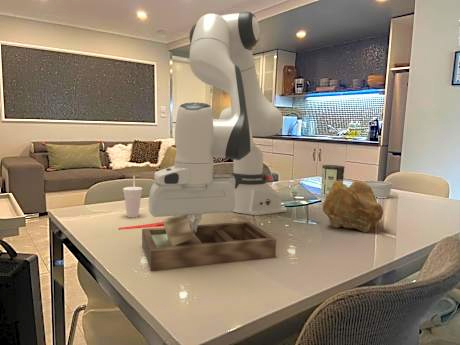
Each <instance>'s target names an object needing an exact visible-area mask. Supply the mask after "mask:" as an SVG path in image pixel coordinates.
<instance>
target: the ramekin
mask: <svg viewBox="0 0 460 345" xmlns="http://www.w3.org/2000/svg"><path fill="white" fill-rule="evenodd" d="M362 182H363V183H366V184H367V185H369V186H370V187H371V189H372V191H373V194H374V195H375V197H388V196H389V197H390V194H391V191H392V187H393V183H391V182H390V181H389V182H388V181H383V180H380V181H379V180H363V181H362ZM389 197H388V198H389Z"/></svg>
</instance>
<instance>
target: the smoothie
mask: <svg viewBox="0 0 460 345" xmlns="http://www.w3.org/2000/svg"><path fill="white" fill-rule="evenodd" d="M132 176H133V177H132V178H133V179H132V182H133V184H132V185H133V186H127V187H124V188H122V192H123V195H124V202H125V208H126V209H125V211H126V217H127V216H128V217H127V218H129V217H136V218H139V213H140V206H141V198H142V192H143V187H141V186H140V187H139V186H136V176H135V175H132Z"/></svg>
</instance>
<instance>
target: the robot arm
mask: <svg viewBox="0 0 460 345" xmlns="http://www.w3.org/2000/svg"><path fill="white" fill-rule="evenodd" d="M259 24H260V23H259V22H258V19H257V17H256V16H255V14H254V13H253V12H251V11H239V13H238V12H237V13H227V14H222V15H220V14H217V13H206V14H203V15H202V16H201V17H200V18H199V19H198V20H197V22H196V23H195V24H193V25H192V27H191V29H190V31H189V43H190V47H189V59H188V60H189V67H190V69H191V72H192V74H193V75H194V76H195V77H196V78H197V79H198V80H199V81H201V82H203V83H204V84H205V85H209V86H211V87H214V88H217V89H220V90H222V91H223V92H225V94H227V95H228V96H229V99H230V107H227V108H224V109H222V111H221V112H220V115H219V117H218V118H214V115H213V108H212V106H211V105H210V104H208V103H205V102H185V103H182V104H180V105H179V106H178V108H177V113H176V118H175V119H176V120H175V127H174V129H175V130H174V145H175V148H176V153H175V157H174V165H171V166H169V167H167V168H163V169H160V170H157V171H155V172H154V173H153V174H154V175H153V178H154V181H155V182H153V184H152V186H151V188H150V191H149V198H148V212H149V214H150V215H151V216H152V217H153V218H159V217H160V218H161V217H173V216H178V215H185V216H186V217H187V218H188V220H189V224H190V228H191V232H192V233H196V232H197V225H200V224H199V223H200V222H201V220H202V218H203V217H202V216H203V215H205V214H217V213H219V214H220V213H232V212H233V213H239V214H246V215H250V216H261V215H269V214H277V213H286V212H287V211H288V210H287V207H286V206H285V205H283V206H281V205H282V200H281V195H280V194H279V192H278V191H277V190H276V189H274V188H273V187H272V186H271V185H269V184H268V182H269V181H271V180H272V175H270V174H265V173H264V171H263V170H264V153H263V151H262V150H261V149H260V147H258V146H257V145H256V144H255V143H254V141H253V137H263V138H264V137H269V136H270V137H271V136H276V135H278V134H279V133H280V131H281V130H282V128H283V126H284V117H283V114H282V112H281V110H280V109H279V108H278V107H276V106H275V105H273V104H272V103H271V102H270V101H269V100H268V98H267V97H266V96H265V94H264V92H263V91H262V88H261V86H260V83H259V78H258V74H257V68H256V64H255V59H254V56H253V51H252V50H253V48H254V47H256V45H257V43H259V41H260V40H259V39H260V33H261V32H260V25H259ZM214 158H217V159H218V158H222V159H229V160H233V168H232V169H233V171H232V174H230V173H214ZM267 181H268V182H267ZM192 220H193V221H192Z"/></svg>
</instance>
